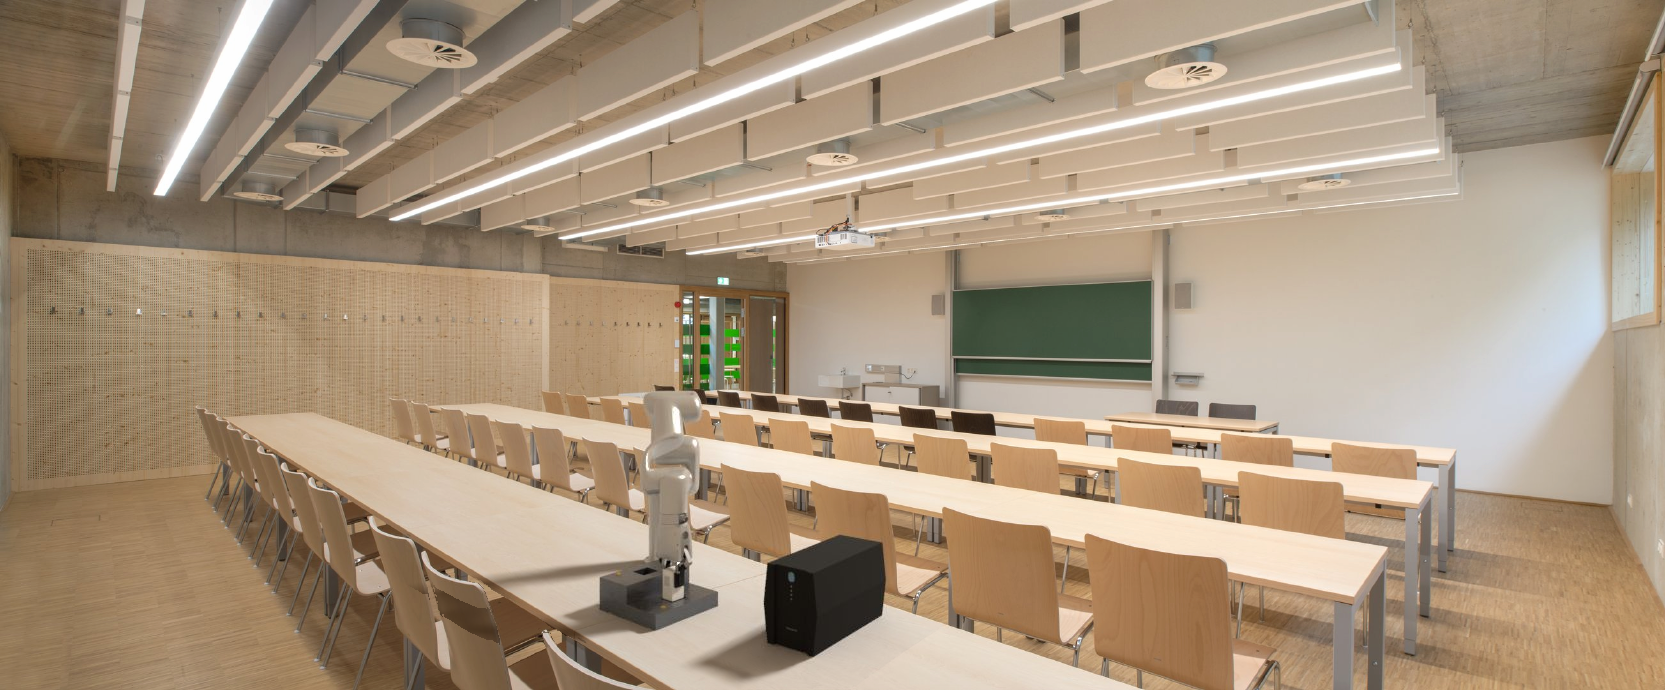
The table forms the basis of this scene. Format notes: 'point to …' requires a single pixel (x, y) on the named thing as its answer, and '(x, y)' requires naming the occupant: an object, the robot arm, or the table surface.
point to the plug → (671, 585)
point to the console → (651, 596)
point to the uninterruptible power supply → (824, 593)
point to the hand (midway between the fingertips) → (673, 584)
